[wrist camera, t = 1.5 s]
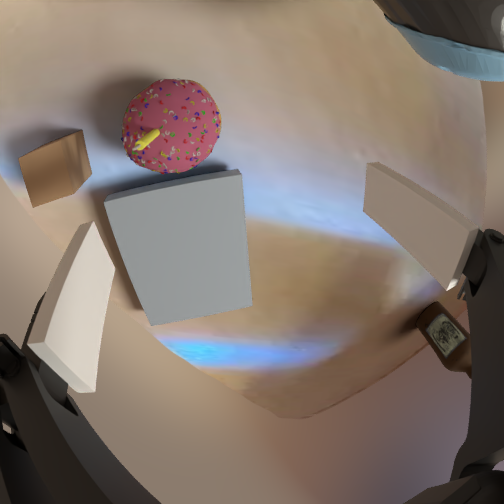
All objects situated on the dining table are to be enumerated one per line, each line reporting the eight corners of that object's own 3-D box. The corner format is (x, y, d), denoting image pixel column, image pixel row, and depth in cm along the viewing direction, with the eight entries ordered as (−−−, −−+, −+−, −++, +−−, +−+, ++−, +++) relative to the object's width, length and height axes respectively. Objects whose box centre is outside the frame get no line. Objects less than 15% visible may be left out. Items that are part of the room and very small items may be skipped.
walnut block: (44, 144, 20) (18, 158, 16) (82, 129, 21) (60, 140, 16) (55, 185, 23) (32, 207, 18) (92, 173, 24) (74, 193, 19)
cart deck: (109, 191, 26) (103, 202, 23) (235, 166, 28) (241, 174, 26) (151, 310, 36) (151, 326, 34) (247, 291, 38) (252, 305, 36)
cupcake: (141, 170, 26) (121, 222, 16) (122, 95, 21) (83, 97, 11) (221, 149, 27) (249, 187, 17) (207, 72, 22) (228, 56, 12)
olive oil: (443, 306, 63) (491, 364, 43) (418, 331, 66) (463, 392, 46) (437, 294, 58) (493, 360, 38) (410, 323, 61) (461, 392, 41)
